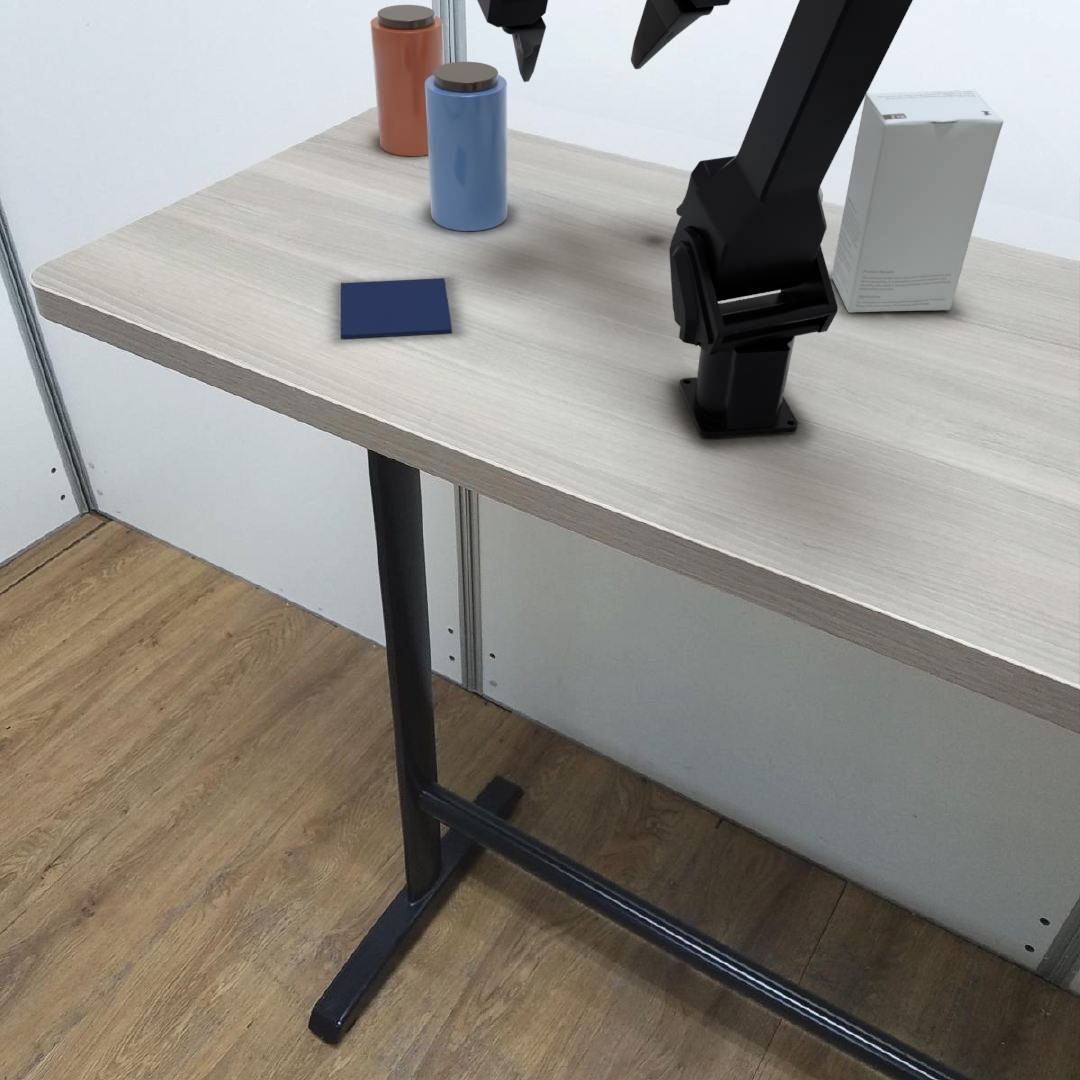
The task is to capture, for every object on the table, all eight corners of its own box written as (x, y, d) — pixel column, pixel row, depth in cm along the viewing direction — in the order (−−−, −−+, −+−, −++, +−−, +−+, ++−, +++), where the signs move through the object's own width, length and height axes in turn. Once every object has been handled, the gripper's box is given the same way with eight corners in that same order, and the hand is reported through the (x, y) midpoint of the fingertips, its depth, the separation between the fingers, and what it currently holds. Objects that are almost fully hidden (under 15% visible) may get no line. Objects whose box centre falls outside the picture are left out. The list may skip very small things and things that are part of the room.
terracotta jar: (449, 155, 104) (444, 22, 96) (380, 157, 104) (370, 23, 96) (445, 130, 109) (439, 1, 101) (379, 132, 108) (369, 3, 101)
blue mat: (452, 332, 79) (451, 329, 79) (341, 338, 78) (340, 335, 78) (444, 281, 85) (444, 277, 85) (341, 286, 84) (340, 282, 84)
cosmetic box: (927, 278, 87) (980, 87, 77) (952, 315, 82) (1011, 117, 72) (824, 278, 86) (864, 86, 77) (843, 315, 82) (887, 116, 72)
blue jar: (511, 229, 92) (511, 84, 84) (433, 233, 91) (426, 86, 83) (502, 197, 97) (502, 57, 89) (429, 200, 96) (421, 59, 88)
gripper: (710, -212, 74) (651, -11, 88) (451, -204, 69) (432, 9, 83) (776, -108, 70) (704, 87, 84) (506, -90, 65) (476, 114, 79)
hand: (580, 71), depth 82 cm, fingers open, 9 cm apart
